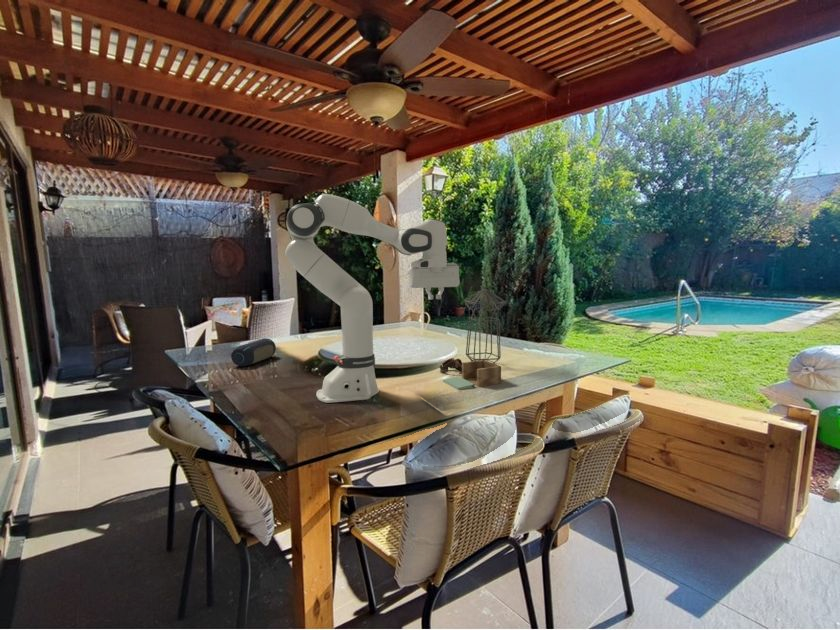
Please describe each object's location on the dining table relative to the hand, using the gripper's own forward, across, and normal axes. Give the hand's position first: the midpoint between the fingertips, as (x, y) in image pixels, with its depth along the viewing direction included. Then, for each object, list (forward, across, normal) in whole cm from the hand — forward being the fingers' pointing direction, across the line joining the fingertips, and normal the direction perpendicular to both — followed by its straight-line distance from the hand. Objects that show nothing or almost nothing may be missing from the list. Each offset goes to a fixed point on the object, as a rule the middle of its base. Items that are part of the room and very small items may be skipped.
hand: (434, 299), depth 164 cm
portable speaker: (+35, +61, -71) cm, 100 cm away
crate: (+33, -15, +10) cm, 38 cm away
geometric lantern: (+33, -32, -14) cm, 48 cm away
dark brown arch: (+33, -13, -7) cm, 36 cm away
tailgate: (+32, -9, +10) cm, 34 cm away
